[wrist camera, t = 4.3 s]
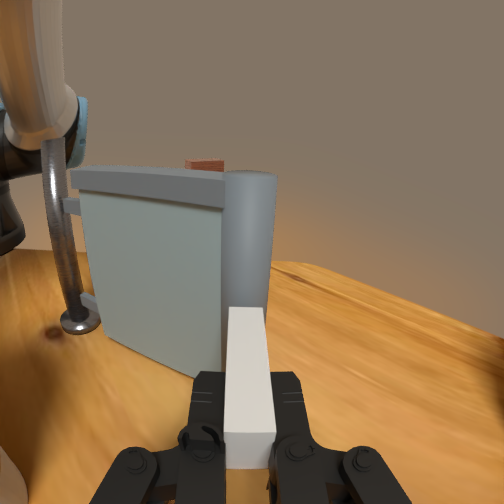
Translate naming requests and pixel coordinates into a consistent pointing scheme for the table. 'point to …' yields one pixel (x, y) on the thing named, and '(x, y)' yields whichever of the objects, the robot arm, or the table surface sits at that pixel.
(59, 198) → the gate posts
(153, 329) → the gate
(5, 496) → the coffee cup
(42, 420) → the table surface
